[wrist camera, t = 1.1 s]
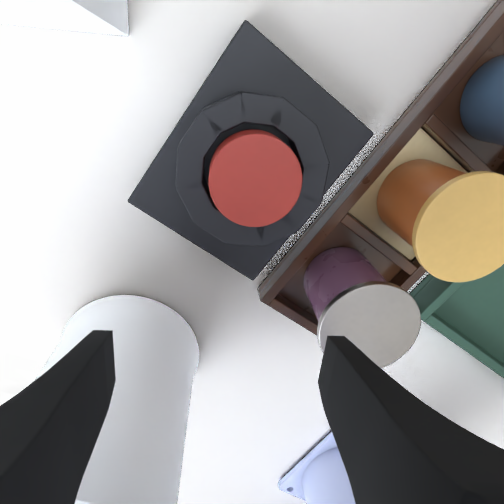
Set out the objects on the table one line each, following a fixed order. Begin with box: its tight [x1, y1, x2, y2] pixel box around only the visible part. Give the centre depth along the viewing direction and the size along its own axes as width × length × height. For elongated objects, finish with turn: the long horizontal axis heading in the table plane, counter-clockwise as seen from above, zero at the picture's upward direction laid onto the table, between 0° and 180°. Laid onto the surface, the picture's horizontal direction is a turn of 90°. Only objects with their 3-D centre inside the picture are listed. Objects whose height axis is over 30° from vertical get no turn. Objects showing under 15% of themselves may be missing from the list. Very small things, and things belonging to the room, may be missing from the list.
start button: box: [209, 129, 302, 227], centre depth 17 cm, size 4×4×2 cm
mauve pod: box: [304, 247, 421, 368], centre depth 21 cm, size 5×5×5 cm
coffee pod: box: [377, 159, 504, 282], centre depth 19 cm, size 5×5×5 cm
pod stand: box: [258, 0, 504, 335], centre depth 21 cm, size 7×20×2 cm, turn 143°
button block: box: [128, 20, 373, 280], centre depth 19 cm, size 10×8×3 cm
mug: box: [35, 295, 199, 504], centre depth 19 cm, size 12×8×12 cm
